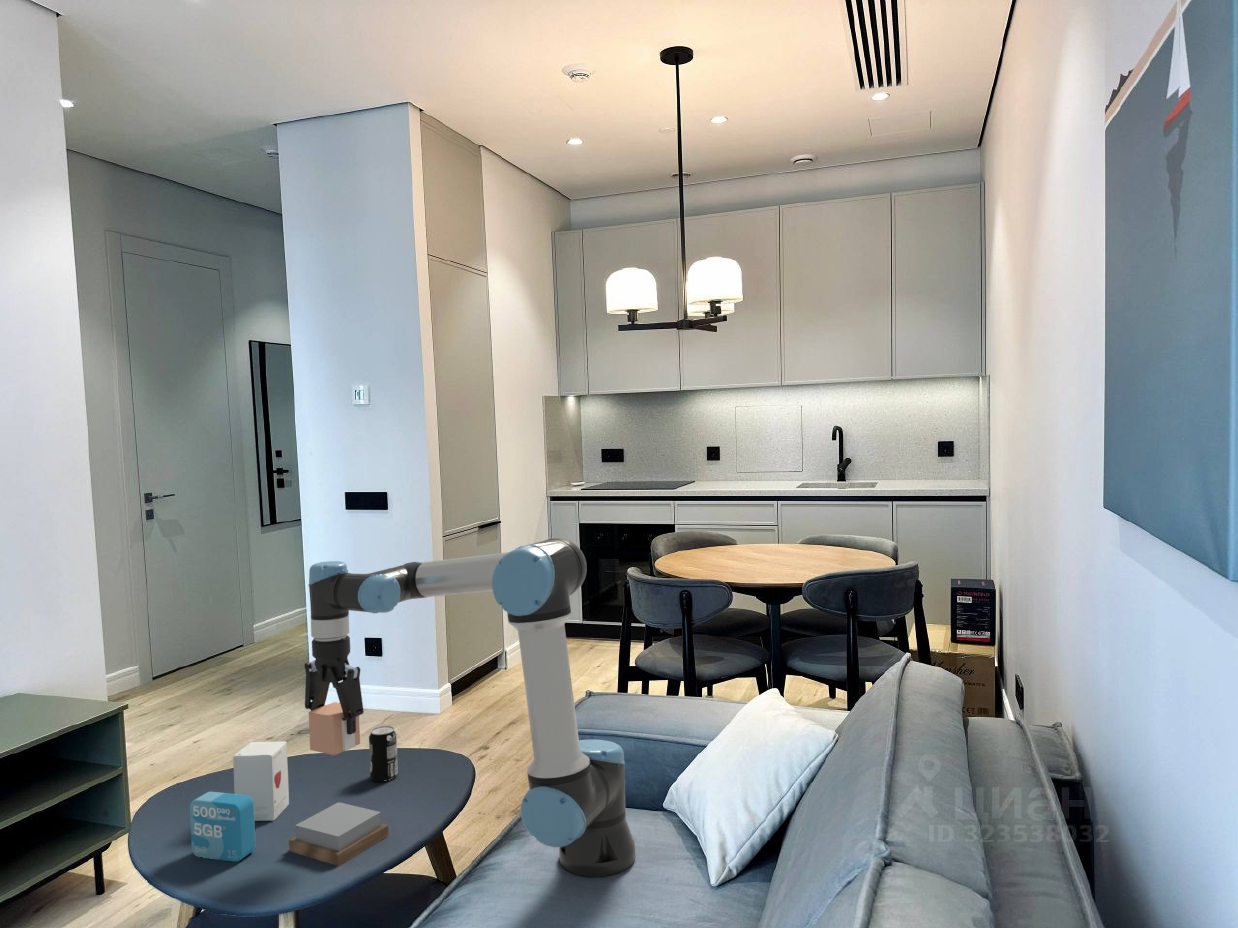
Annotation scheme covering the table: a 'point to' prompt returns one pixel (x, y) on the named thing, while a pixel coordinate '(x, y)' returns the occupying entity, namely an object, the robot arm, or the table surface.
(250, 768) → the supplement box
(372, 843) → the base block
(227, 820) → the data package
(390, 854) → the table surface
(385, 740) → the beverage can
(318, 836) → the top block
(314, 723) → the terracotta block
